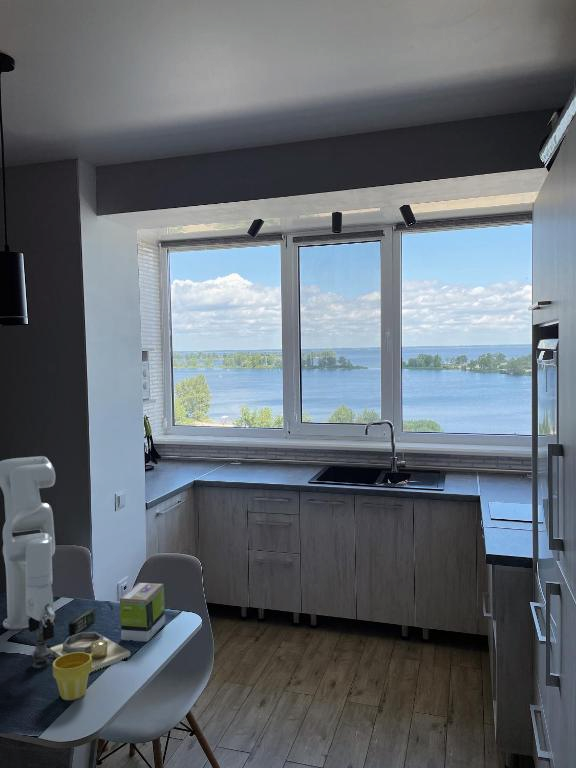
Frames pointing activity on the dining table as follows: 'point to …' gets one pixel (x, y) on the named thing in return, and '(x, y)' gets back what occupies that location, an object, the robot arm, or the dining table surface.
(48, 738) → the dining table surface
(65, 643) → the ring holder
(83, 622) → the mobile phone
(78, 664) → the plant pot
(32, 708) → the dining table surface
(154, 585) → the tea box
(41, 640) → the grey knobbed cylinder
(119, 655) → the birch board
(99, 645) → the brass post
